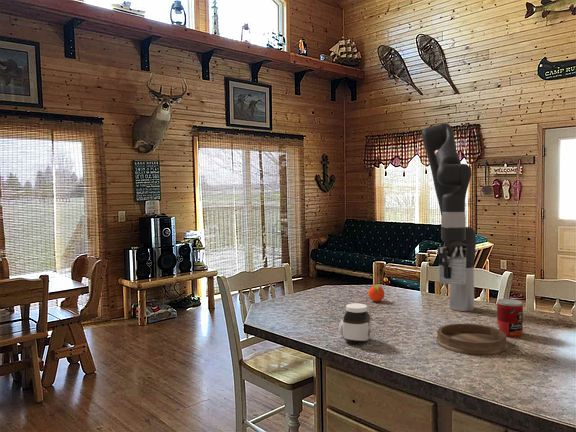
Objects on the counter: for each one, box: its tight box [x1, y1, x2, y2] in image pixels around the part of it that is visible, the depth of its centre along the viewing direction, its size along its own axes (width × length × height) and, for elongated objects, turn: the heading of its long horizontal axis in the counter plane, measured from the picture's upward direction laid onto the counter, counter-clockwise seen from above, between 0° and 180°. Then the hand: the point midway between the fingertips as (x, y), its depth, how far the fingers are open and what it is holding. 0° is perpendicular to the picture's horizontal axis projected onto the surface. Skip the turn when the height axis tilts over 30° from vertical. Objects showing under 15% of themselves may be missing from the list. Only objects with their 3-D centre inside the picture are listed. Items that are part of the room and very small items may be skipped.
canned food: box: [496, 298, 524, 338], centre depth 159 cm, size 8×8×11 cm
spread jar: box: [337, 302, 372, 345], centre depth 158 cm, size 12×11×12 cm
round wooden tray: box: [436, 323, 509, 356], centre depth 151 cm, size 21×21×4 cm
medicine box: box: [438, 256, 466, 285], centre depth 156 cm, size 8×4×9 cm, turn 62°
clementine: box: [367, 284, 385, 303], centre depth 208 cm, size 8×7×7 cm
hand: (453, 277), depth 156 cm, fingers closed on medicine box, 5 cm apart
